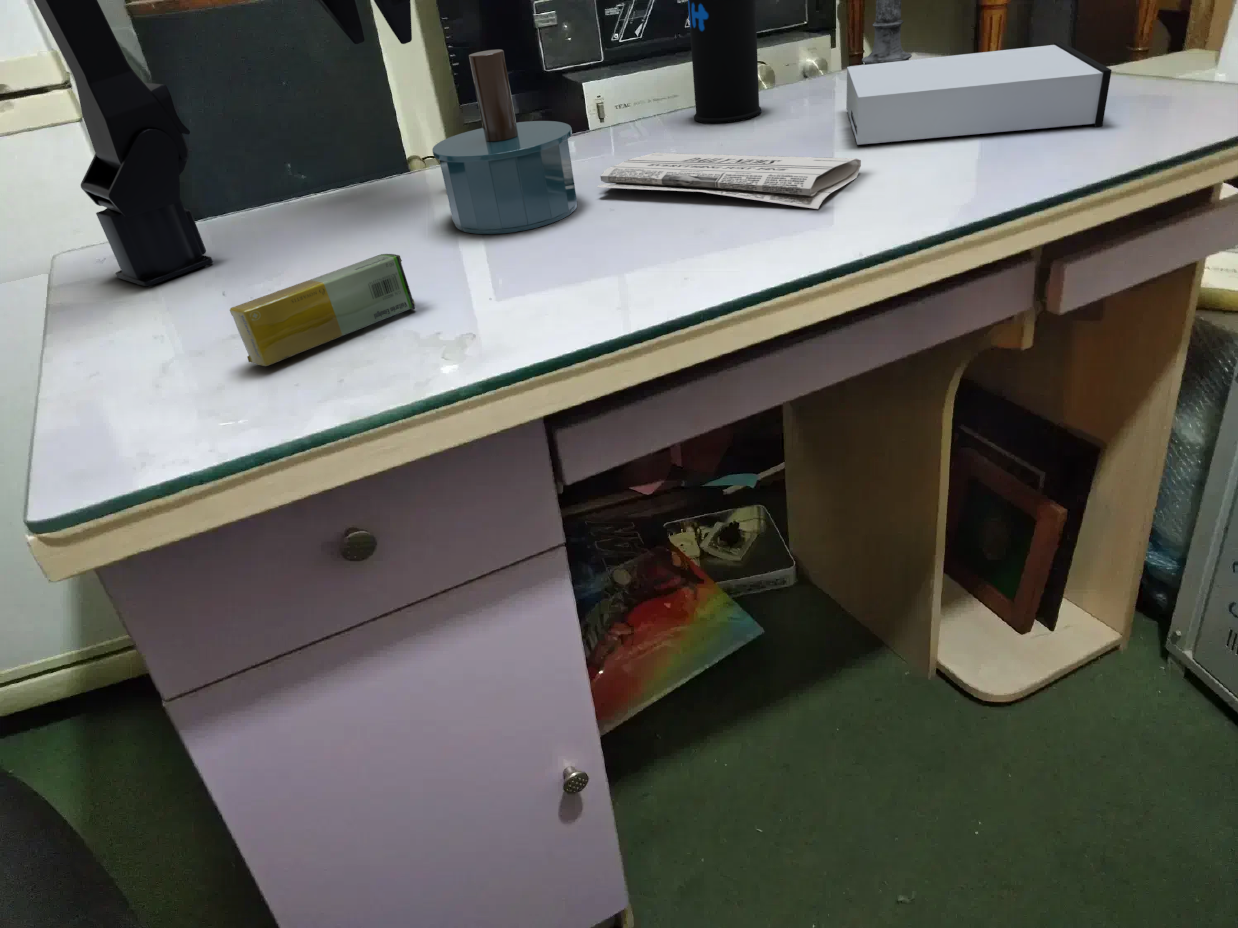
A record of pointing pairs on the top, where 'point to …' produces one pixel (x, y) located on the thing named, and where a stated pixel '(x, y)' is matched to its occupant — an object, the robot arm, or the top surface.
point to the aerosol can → (724, 59)
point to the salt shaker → (887, 34)
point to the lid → (498, 120)
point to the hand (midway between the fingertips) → (382, 43)
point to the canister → (511, 191)
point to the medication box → (322, 309)
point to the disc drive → (976, 94)
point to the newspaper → (737, 176)
